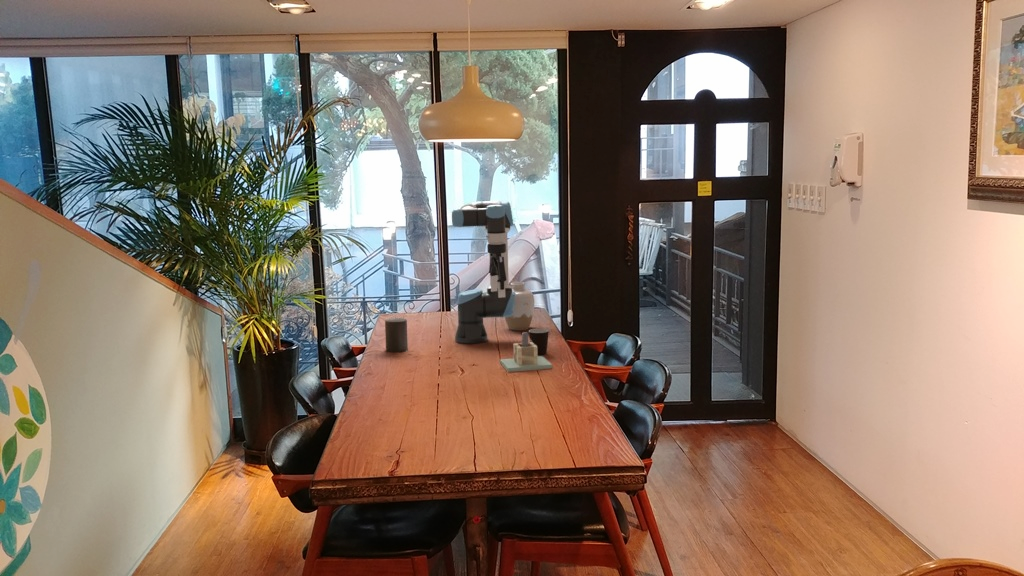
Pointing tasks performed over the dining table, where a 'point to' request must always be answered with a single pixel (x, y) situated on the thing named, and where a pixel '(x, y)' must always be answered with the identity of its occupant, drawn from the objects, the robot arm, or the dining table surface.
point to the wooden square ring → (525, 354)
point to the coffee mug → (539, 339)
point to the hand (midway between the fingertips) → (498, 294)
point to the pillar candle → (396, 334)
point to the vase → (521, 308)
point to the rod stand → (513, 366)
